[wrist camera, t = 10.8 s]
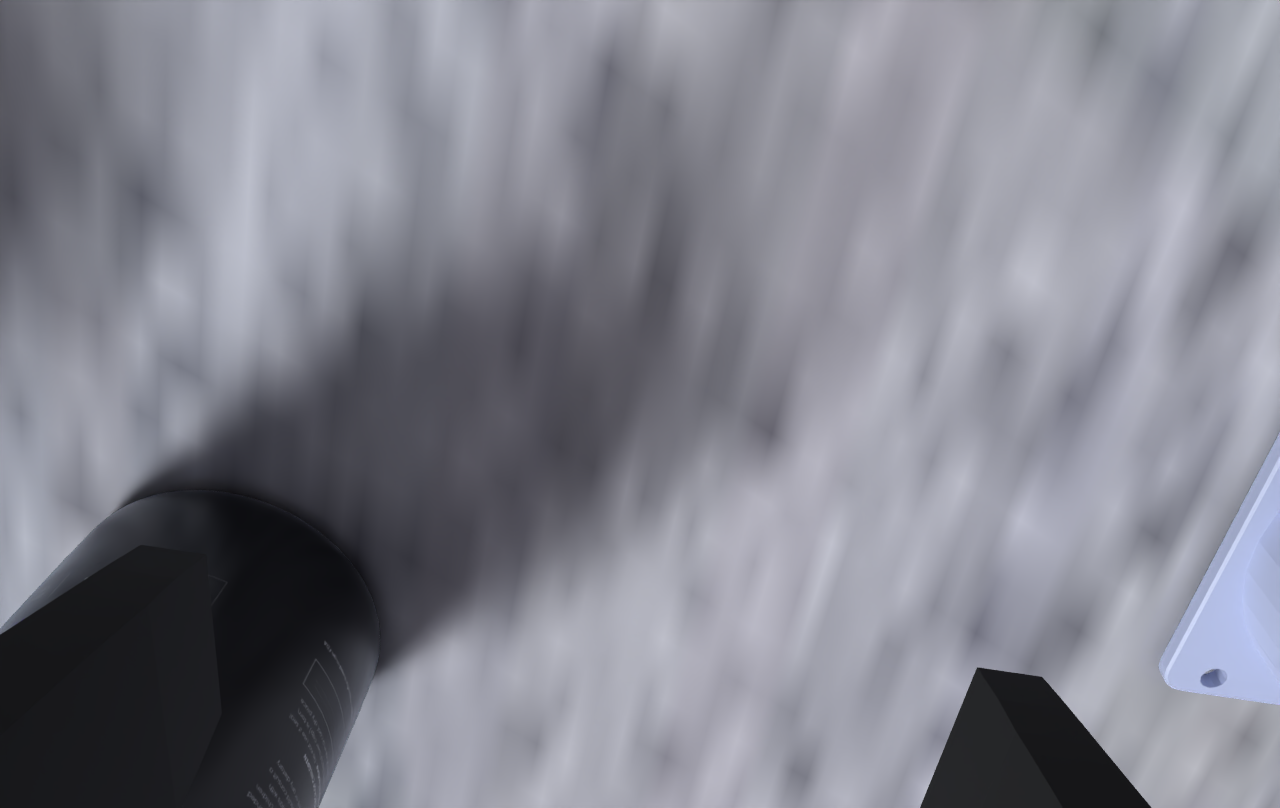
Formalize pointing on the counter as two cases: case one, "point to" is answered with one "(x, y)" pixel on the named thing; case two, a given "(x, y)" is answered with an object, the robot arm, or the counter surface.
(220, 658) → the supplement bottle
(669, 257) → the counter surface
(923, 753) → the counter surface
